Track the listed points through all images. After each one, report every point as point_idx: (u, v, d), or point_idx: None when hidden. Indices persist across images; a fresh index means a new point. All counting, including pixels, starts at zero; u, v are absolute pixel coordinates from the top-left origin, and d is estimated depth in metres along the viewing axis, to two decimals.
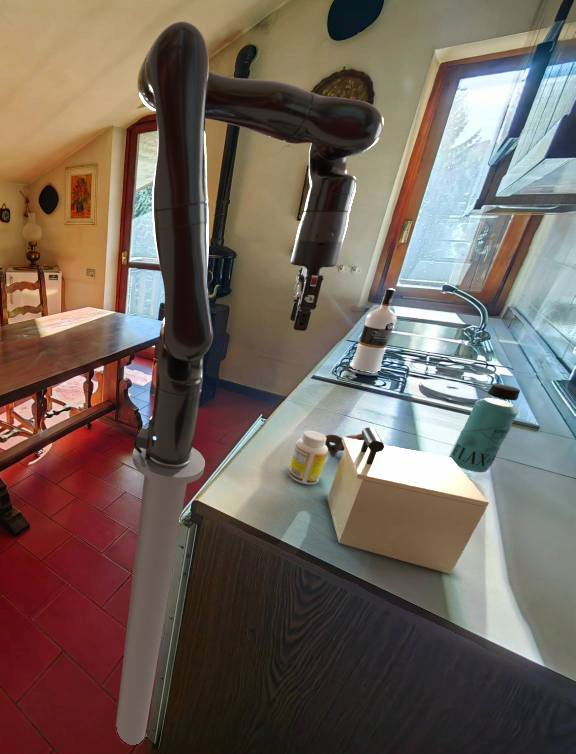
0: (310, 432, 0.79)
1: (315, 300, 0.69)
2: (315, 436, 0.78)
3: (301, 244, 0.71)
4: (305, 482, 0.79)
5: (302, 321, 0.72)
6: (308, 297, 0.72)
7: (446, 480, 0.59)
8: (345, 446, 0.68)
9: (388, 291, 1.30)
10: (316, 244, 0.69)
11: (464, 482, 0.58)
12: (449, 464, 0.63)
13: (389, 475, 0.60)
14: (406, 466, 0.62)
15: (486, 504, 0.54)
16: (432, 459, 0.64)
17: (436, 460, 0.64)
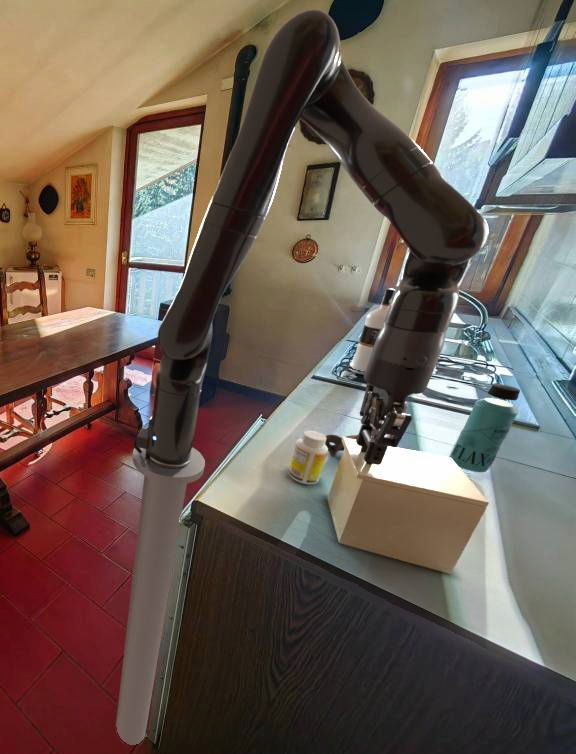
0: (310, 432, 0.79)
1: (397, 440, 0.57)
2: (315, 436, 0.78)
3: (382, 364, 0.57)
4: (305, 482, 0.79)
5: (377, 455, 0.60)
6: None
7: (446, 480, 0.59)
8: (345, 446, 0.68)
9: (388, 291, 1.30)
10: (403, 368, 0.55)
11: (464, 482, 0.58)
12: (449, 464, 0.63)
13: (389, 475, 0.60)
14: (406, 466, 0.62)
15: (486, 504, 0.54)
16: (432, 459, 0.64)
17: (436, 460, 0.64)
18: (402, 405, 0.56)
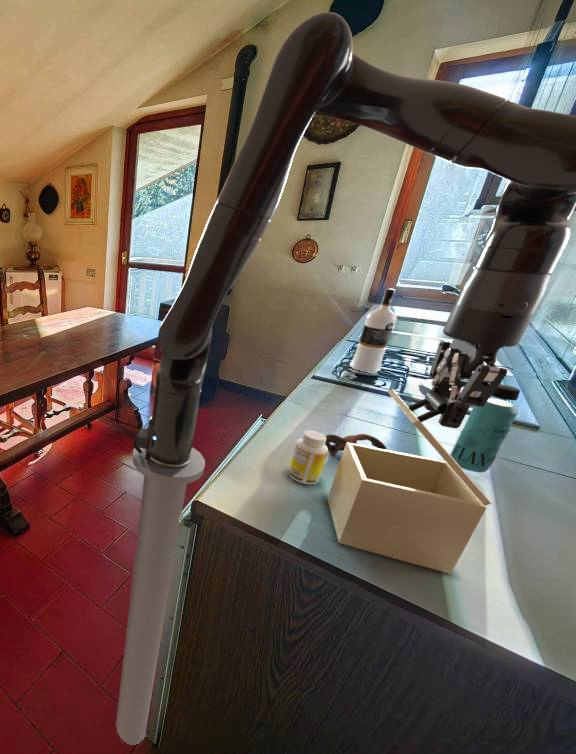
0: (310, 432, 0.79)
1: (486, 398, 0.51)
2: (315, 436, 0.78)
3: (471, 313, 0.51)
4: (305, 482, 0.79)
5: (456, 417, 0.54)
6: None
7: None
8: (396, 396, 0.62)
9: (388, 291, 1.30)
10: (499, 316, 0.49)
11: None
12: (455, 461, 0.62)
13: None
14: None
15: (487, 503, 0.54)
16: None
17: None
18: (493, 359, 0.50)
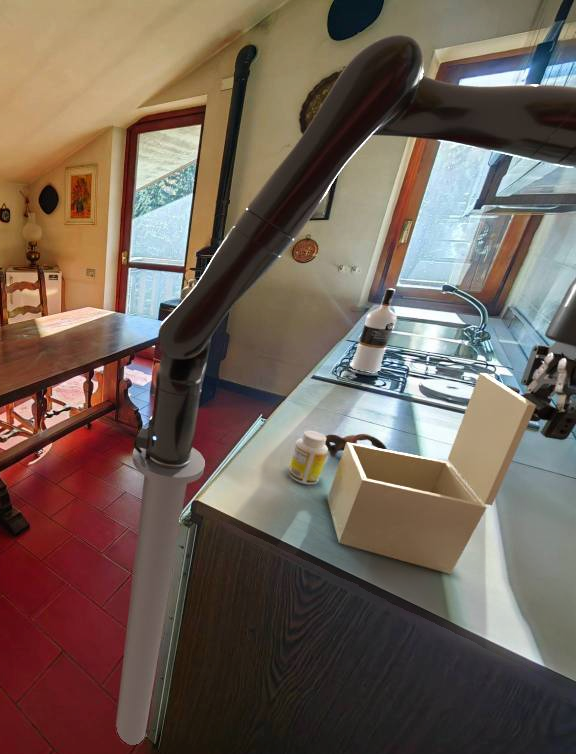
0: (310, 432, 0.79)
1: None
2: (315, 436, 0.78)
3: None
4: (305, 482, 0.79)
5: (564, 428, 0.50)
6: None
7: None
8: (494, 380, 0.57)
9: (388, 291, 1.30)
10: None
11: None
12: None
13: None
14: None
15: (489, 503, 0.54)
16: None
17: None
18: None
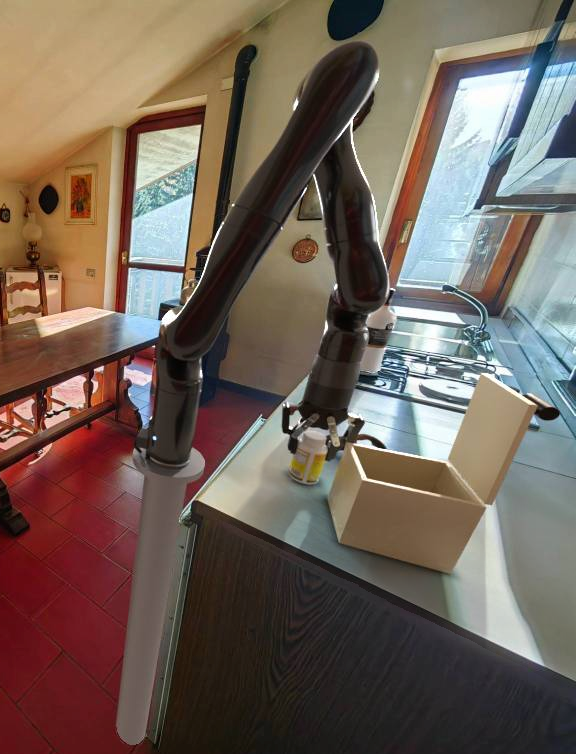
0: (310, 432, 0.79)
1: (282, 425, 0.79)
2: (315, 436, 0.78)
3: None
4: (305, 482, 0.79)
5: (288, 443, 0.81)
6: None
7: None
8: (495, 380, 0.57)
9: None
10: None
11: None
12: None
13: None
14: None
15: (489, 503, 0.54)
16: None
17: None
18: (299, 406, 0.77)
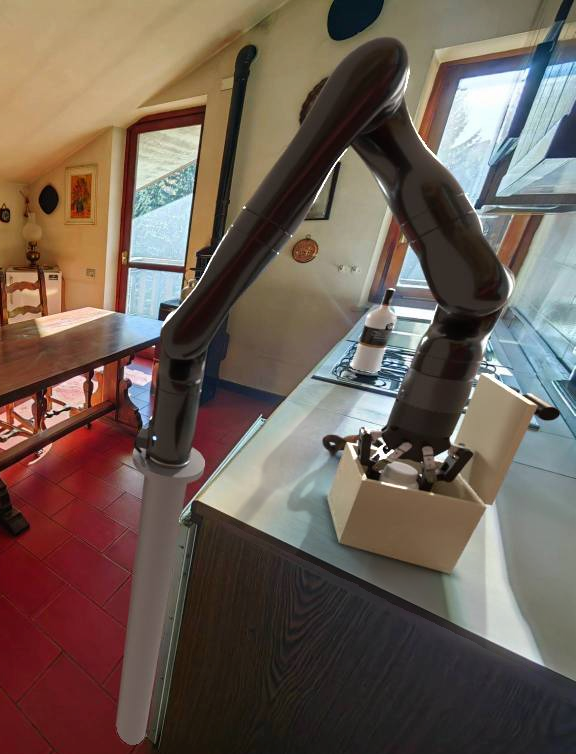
0: (395, 463, 0.64)
1: (360, 455, 0.64)
2: (403, 469, 0.63)
3: None
4: None
5: (366, 476, 0.66)
6: None
7: None
8: (495, 380, 0.57)
9: (388, 291, 1.30)
10: (396, 399, 0.61)
11: None
12: None
13: None
14: None
15: (489, 503, 0.54)
16: None
17: None
18: (383, 432, 0.62)
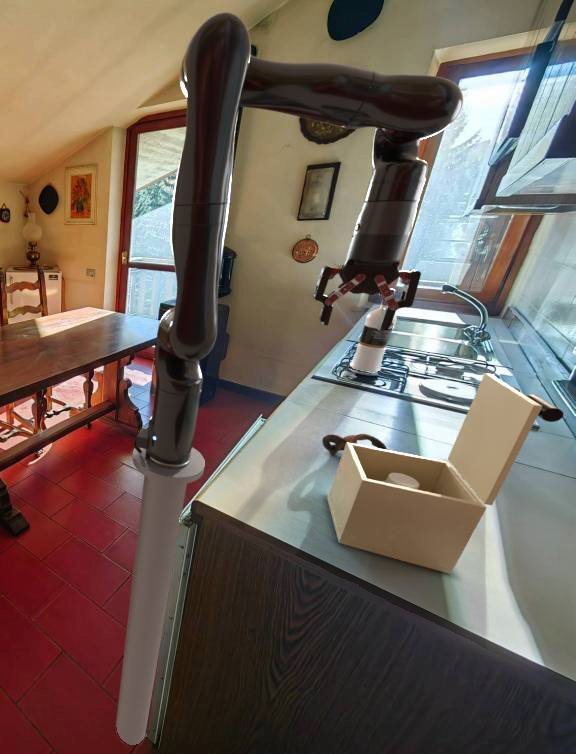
0: (396, 475, 0.64)
1: (316, 290, 0.70)
2: (405, 481, 0.63)
3: None
4: None
5: (321, 314, 0.72)
6: None
7: None
8: (499, 380, 0.56)
9: None
10: (352, 236, 0.67)
11: None
12: None
13: None
14: None
15: (489, 503, 0.54)
16: None
17: None
18: (341, 269, 0.68)
